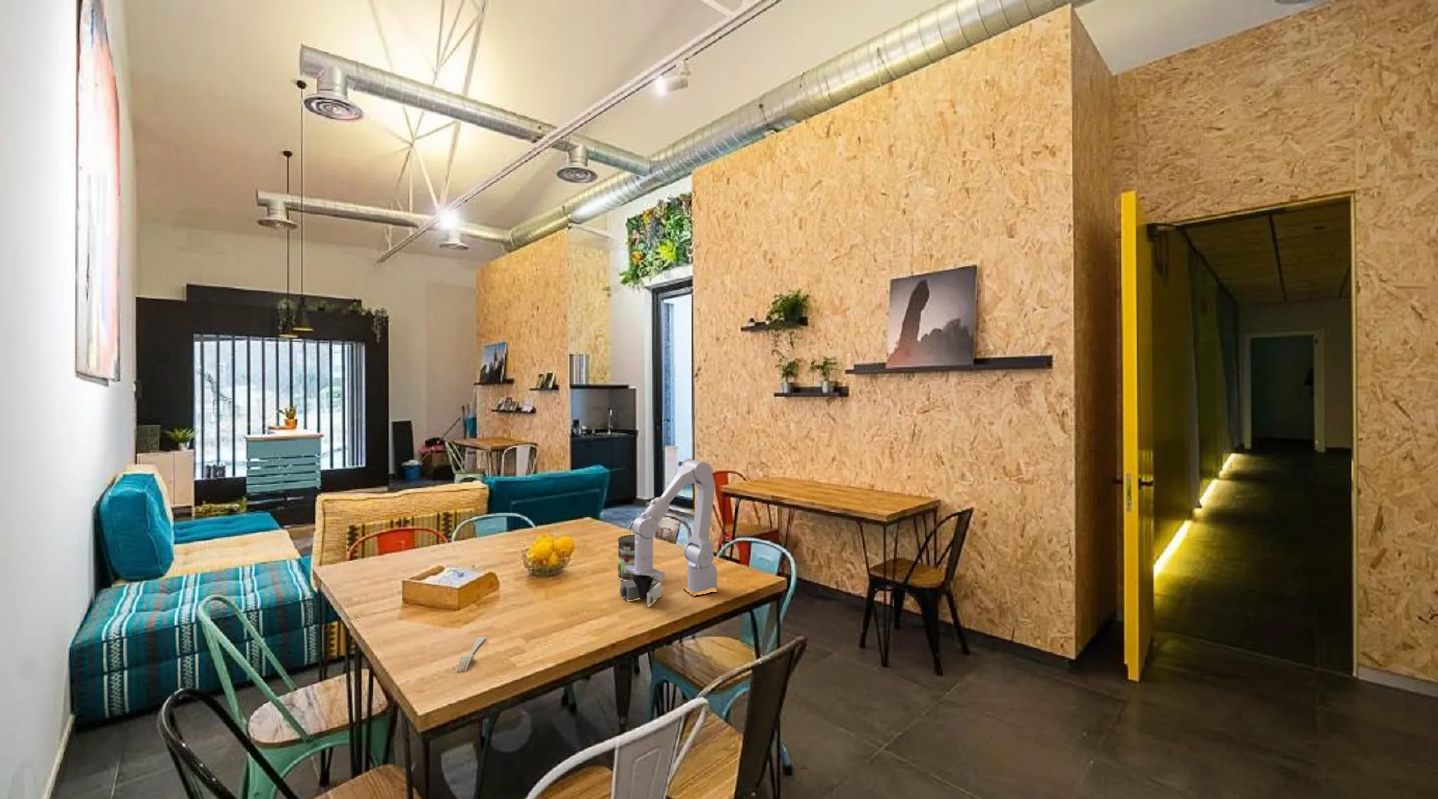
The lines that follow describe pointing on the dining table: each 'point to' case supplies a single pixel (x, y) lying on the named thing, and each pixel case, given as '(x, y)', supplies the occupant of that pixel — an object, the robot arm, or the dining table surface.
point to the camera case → (631, 589)
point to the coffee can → (626, 556)
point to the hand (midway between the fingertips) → (643, 598)
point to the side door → (653, 594)
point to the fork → (476, 645)
